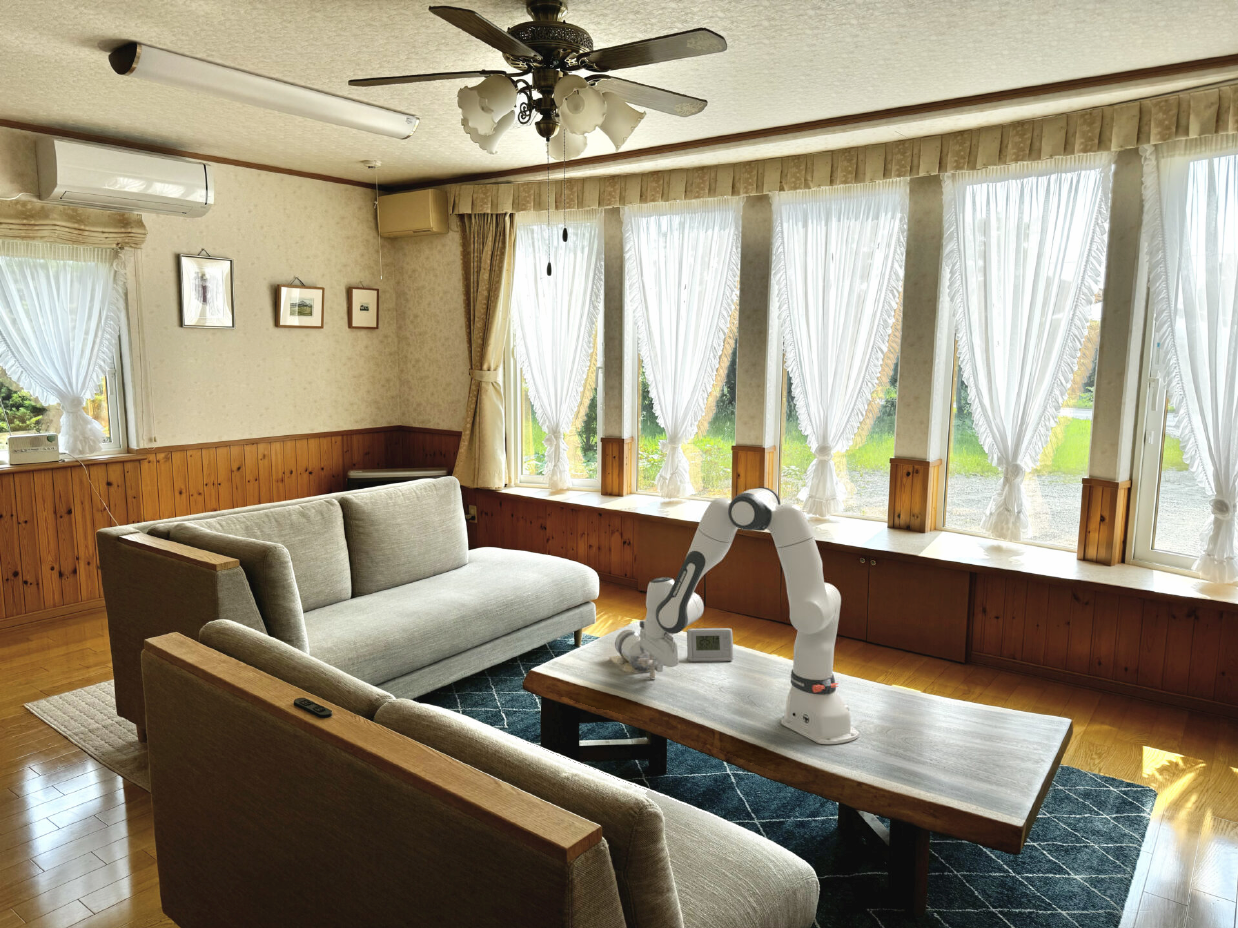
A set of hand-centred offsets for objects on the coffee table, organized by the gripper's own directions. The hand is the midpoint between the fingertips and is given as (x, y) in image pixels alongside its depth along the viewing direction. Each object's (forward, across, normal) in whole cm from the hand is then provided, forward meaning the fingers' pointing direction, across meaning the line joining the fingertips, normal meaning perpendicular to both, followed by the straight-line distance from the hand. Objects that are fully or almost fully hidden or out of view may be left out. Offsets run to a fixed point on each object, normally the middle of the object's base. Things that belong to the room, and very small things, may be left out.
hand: (658, 670), depth 264 cm
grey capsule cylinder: (+5, +18, 0) cm, 19 cm away
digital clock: (+5, +14, -27) cm, 31 cm away
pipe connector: (+4, +4, 0) cm, 6 cm away
